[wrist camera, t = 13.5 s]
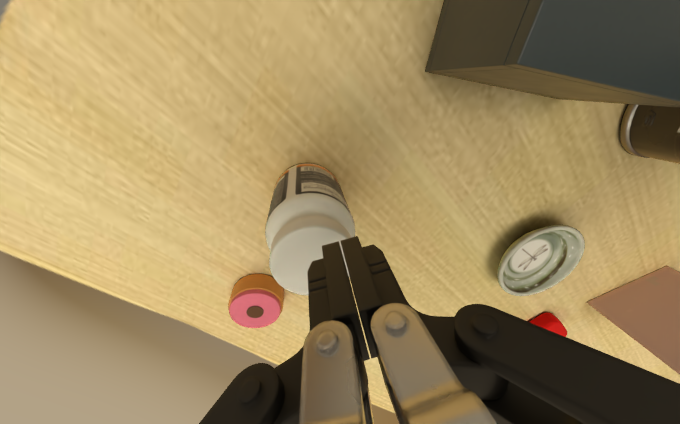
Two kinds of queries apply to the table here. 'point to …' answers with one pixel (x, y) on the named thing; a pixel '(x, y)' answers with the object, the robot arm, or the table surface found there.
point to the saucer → (540, 260)
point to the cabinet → (564, 48)
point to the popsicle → (550, 323)
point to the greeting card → (648, 313)
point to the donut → (256, 301)
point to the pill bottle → (304, 223)
